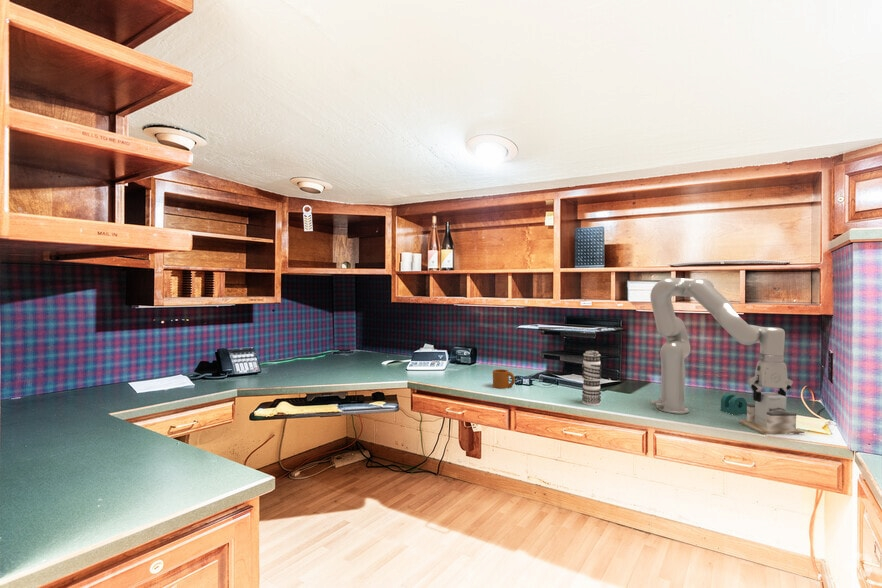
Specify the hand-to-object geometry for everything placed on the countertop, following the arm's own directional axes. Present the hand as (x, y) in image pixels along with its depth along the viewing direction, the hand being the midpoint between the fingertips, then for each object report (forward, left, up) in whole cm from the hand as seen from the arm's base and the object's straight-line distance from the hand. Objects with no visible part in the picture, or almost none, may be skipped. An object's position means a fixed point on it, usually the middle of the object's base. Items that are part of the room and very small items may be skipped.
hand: (769, 401), depth 171 cm
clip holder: (0, 0, -11) cm, 11 cm away
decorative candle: (-59, +35, -11) cm, 69 cm away
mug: (-97, +66, -11) cm, 117 cm away
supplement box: (0, 0, -10) cm, 10 cm away
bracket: (+5, +21, -11) cm, 24 cm away
